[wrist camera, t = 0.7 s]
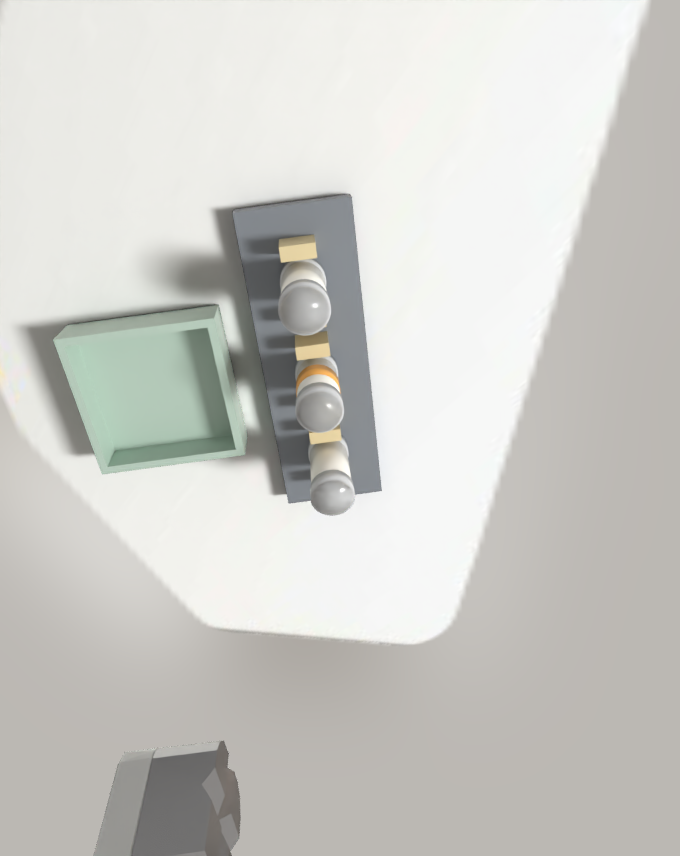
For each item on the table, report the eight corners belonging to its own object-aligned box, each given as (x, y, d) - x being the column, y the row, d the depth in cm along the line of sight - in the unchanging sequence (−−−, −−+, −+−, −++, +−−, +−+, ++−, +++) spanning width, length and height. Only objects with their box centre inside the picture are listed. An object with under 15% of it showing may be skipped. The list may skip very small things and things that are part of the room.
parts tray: (66, 325, 46) (53, 340, 43) (218, 304, 46) (214, 318, 43) (111, 454, 51) (102, 474, 49) (247, 435, 51) (245, 455, 49)
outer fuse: (305, 433, 50) (307, 482, 44) (345, 427, 50) (352, 476, 44) (311, 466, 52) (313, 518, 46) (349, 461, 52) (357, 512, 46)
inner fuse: (276, 259, 43) (274, 288, 37) (322, 252, 43) (327, 281, 37) (284, 303, 45) (282, 338, 39) (328, 297, 45) (334, 331, 39)
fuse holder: (233, 209, 43) (229, 219, 39) (350, 193, 43) (354, 203, 39) (288, 495, 54) (288, 520, 51) (379, 482, 54) (385, 507, 51)
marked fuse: (292, 352, 47) (292, 393, 41) (334, 346, 47) (341, 386, 41) (298, 390, 48) (299, 435, 42) (339, 385, 48) (346, 429, 42)
